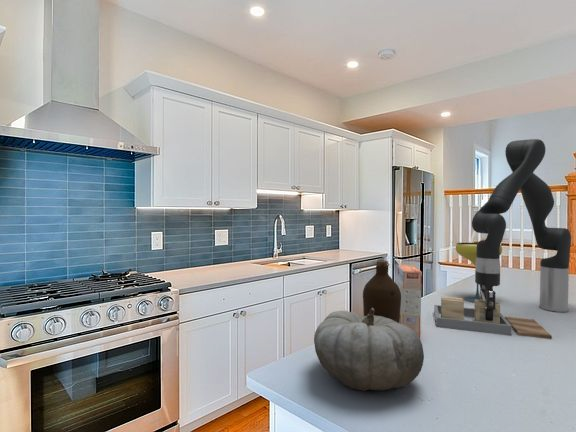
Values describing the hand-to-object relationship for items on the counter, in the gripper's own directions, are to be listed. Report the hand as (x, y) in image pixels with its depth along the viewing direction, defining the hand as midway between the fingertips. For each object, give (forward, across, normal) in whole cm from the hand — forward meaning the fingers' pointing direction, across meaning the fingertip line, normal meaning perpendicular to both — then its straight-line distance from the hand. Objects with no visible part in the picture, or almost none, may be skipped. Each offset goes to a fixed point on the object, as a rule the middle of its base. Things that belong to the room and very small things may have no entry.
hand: (486, 317), depth 121 cm
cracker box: (+3, -17, +26) cm, 31 cm away
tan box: (+3, 0, 0) cm, 3 cm away
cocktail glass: (+3, +37, -2) cm, 37 cm away
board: (+3, +1, -12) cm, 12 cm away
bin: (+3, 0, +6) cm, 6 cm away
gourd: (+3, -55, +34) cm, 65 cm away
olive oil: (+3, -35, +32) cm, 48 cm away
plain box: (+3, 0, +11) cm, 11 cm away
